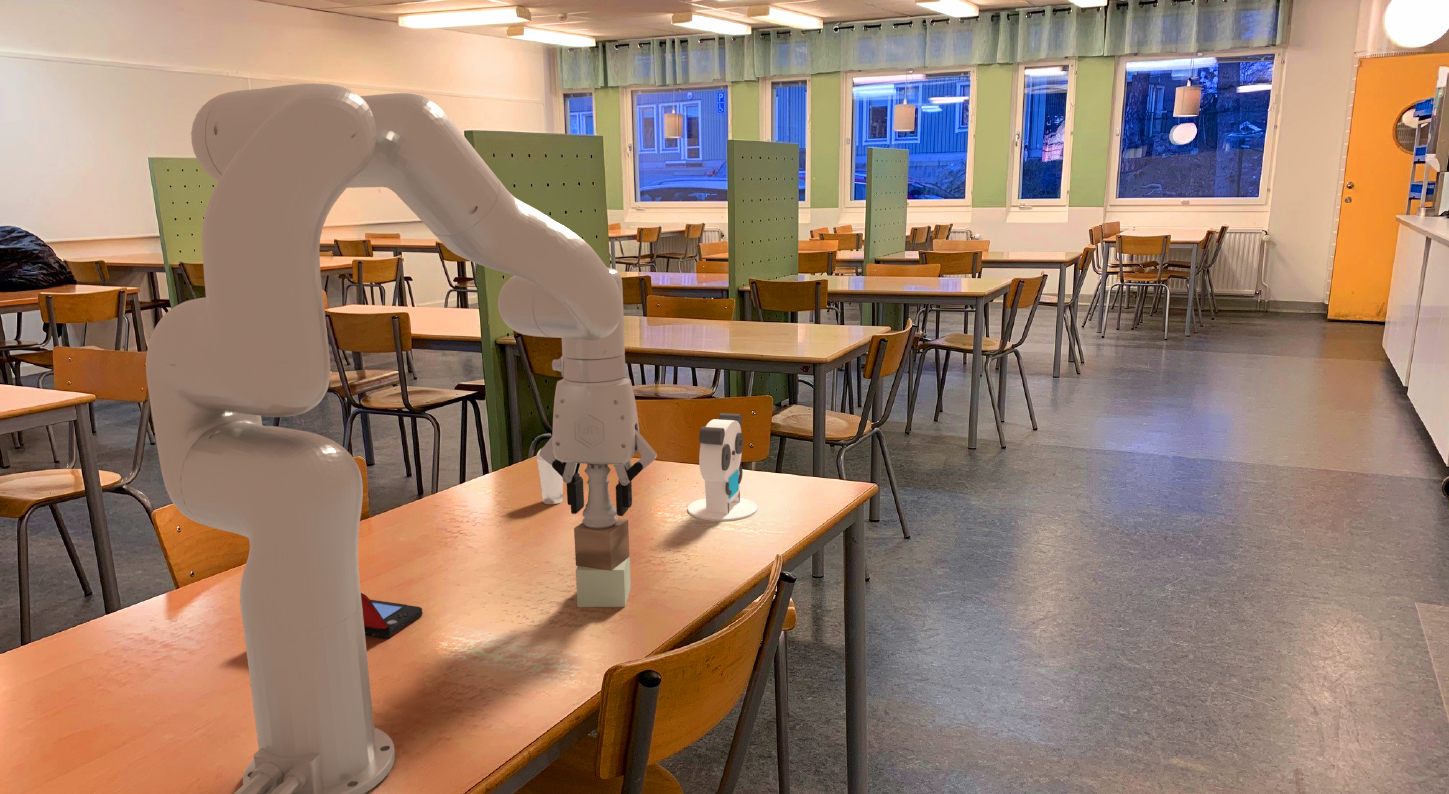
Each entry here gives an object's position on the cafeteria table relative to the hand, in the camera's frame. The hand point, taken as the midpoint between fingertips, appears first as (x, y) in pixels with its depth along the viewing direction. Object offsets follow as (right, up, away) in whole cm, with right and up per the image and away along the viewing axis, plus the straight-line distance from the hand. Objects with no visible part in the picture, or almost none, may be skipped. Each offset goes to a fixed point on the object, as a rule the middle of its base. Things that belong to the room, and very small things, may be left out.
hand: (600, 510), depth 122 cm
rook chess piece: (0, -2, 0) cm, 2 cm away
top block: (0, -7, +1) cm, 7 cm away
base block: (0, -12, +2) cm, 12 cm away
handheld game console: (-29, -14, -5) cm, 32 cm away
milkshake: (-13, -4, +41) cm, 43 cm away
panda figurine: (+15, -4, +36) cm, 39 cm away
